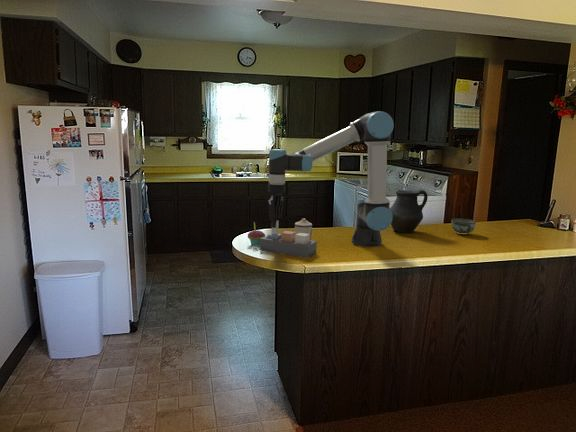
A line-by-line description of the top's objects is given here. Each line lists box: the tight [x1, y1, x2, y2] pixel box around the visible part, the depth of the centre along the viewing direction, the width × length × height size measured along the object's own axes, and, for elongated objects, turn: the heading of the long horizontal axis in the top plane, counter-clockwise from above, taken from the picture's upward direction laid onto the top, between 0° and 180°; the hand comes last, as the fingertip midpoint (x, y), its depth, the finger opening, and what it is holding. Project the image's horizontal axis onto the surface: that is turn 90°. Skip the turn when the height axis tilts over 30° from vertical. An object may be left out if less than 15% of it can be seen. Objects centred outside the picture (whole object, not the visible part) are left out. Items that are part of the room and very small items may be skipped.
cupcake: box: [247, 221, 266, 247], centre depth 211 cm, size 9×8×12 cm
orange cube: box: [280, 230, 296, 242], centre depth 201 cm, size 5×5×5 cm
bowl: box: [451, 217, 477, 234], centre depth 254 cm, size 14×13×8 cm
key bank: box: [259, 235, 318, 259], centre depth 202 cm, size 24×10×6 cm, turn 64°
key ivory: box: [295, 233, 310, 245], centre depth 198 cm, size 5×5×5 cm
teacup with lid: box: [294, 218, 313, 240], centre depth 223 cm, size 12×9×12 cm
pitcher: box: [390, 189, 428, 234], centre depth 253 cm, size 21×22×25 cm
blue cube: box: [267, 232, 281, 240], centre depth 204 cm, size 5×5×5 cm
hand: (274, 234), depth 204 cm, fingers closed
